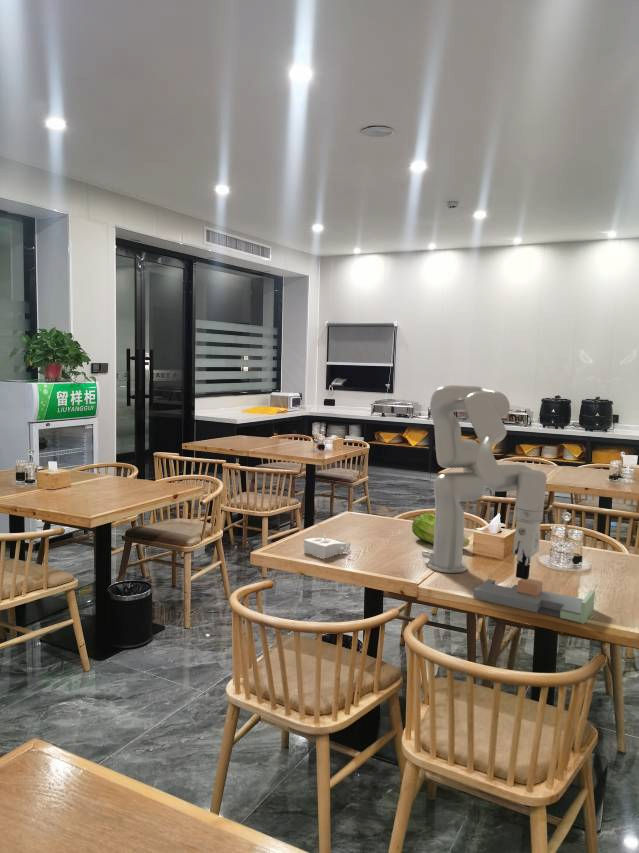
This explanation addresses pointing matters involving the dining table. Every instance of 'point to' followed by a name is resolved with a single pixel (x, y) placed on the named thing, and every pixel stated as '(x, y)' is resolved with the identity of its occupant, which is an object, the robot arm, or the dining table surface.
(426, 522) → the lettuce
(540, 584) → the block
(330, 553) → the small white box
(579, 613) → the grey stepped platform
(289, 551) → the dining table surface
